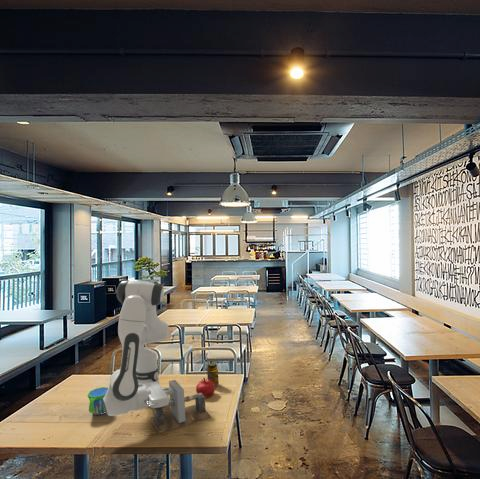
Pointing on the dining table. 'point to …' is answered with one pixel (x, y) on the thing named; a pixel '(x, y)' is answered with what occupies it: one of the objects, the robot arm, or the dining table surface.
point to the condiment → (213, 374)
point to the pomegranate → (205, 387)
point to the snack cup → (97, 400)
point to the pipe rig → (191, 414)
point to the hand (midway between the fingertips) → (173, 389)
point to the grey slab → (177, 401)
